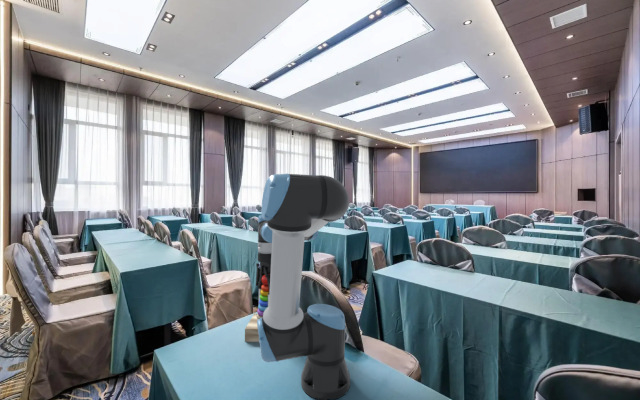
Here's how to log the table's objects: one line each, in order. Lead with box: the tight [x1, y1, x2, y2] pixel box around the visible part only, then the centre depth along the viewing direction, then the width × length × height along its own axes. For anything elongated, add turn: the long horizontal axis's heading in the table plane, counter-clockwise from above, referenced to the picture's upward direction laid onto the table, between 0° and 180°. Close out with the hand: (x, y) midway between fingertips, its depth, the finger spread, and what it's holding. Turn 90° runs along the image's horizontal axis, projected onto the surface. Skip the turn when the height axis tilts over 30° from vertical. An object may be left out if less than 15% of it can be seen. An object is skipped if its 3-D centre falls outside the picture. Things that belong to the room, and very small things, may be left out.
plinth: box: [244, 313, 260, 343], centre depth 116 cm, size 14×14×5 cm
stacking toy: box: [256, 274, 270, 319], centre depth 116 cm, size 8×8×19 cm
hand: (266, 306), depth 116 cm, fingers closed on stacking toy, 7 cm apart
